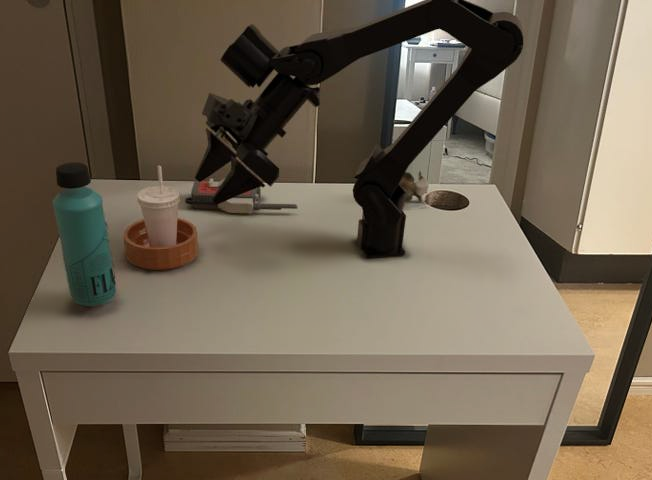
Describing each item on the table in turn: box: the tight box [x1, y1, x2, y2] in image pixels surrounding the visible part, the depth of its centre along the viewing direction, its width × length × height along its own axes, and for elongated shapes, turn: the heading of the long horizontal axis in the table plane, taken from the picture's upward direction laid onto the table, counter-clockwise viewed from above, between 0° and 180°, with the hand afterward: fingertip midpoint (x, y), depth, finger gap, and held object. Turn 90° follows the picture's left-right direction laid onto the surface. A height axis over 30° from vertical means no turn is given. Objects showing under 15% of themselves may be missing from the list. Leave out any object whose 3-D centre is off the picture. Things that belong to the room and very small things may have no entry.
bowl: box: [123, 217, 199, 271], centre depth 109 cm, size 11×11×4 cm
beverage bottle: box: [52, 161, 117, 307], centre depth 93 cm, size 6×7×20 cm
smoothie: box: [136, 165, 181, 248], centre depth 106 cm, size 6×6×14 cm
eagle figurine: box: [399, 170, 430, 203], centre depth 126 cm, size 8×7×9 cm
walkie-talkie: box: [184, 177, 298, 215], centre depth 125 cm, size 9×4×20 cm
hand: (205, 190), depth 107 cm, fingers open, 9 cm apart
